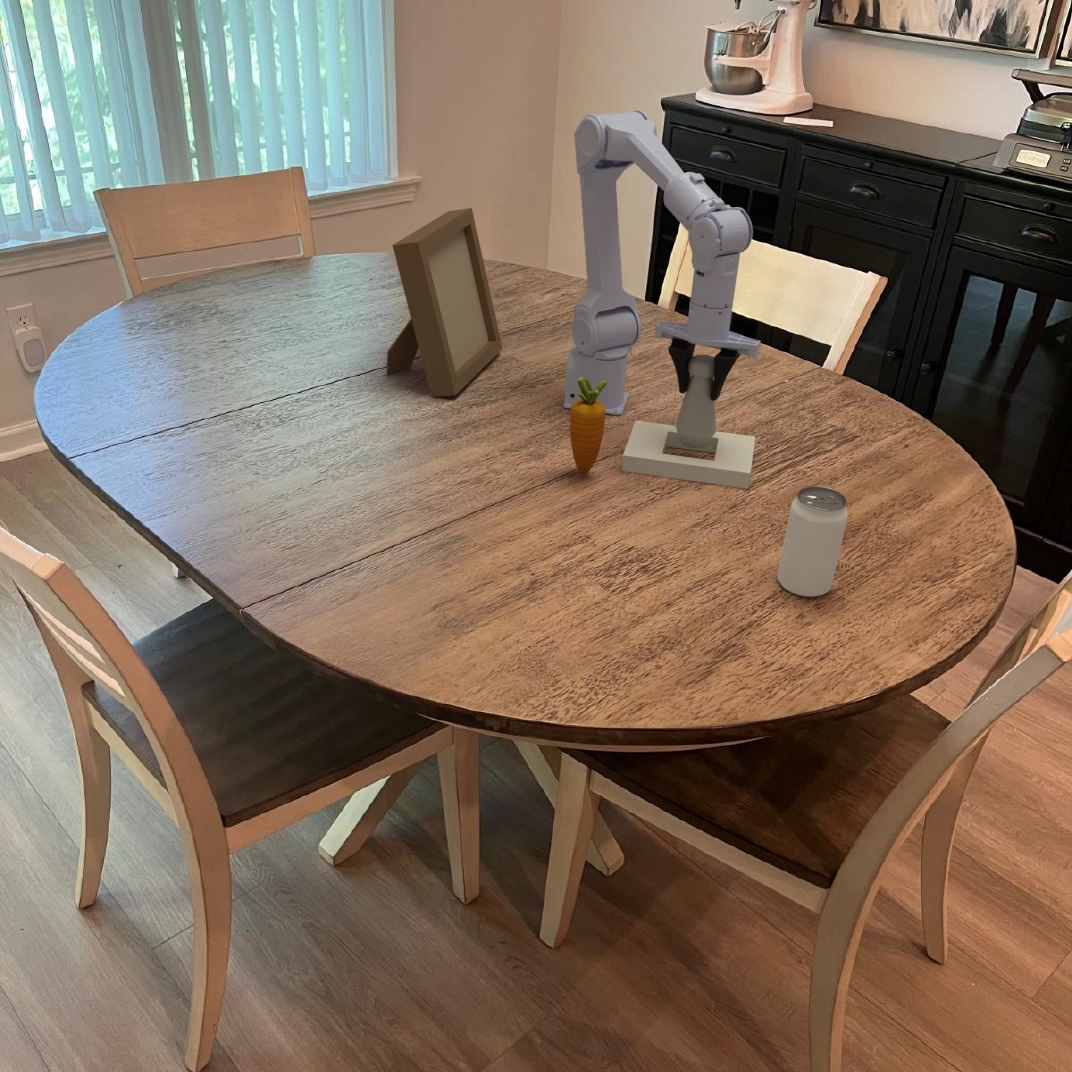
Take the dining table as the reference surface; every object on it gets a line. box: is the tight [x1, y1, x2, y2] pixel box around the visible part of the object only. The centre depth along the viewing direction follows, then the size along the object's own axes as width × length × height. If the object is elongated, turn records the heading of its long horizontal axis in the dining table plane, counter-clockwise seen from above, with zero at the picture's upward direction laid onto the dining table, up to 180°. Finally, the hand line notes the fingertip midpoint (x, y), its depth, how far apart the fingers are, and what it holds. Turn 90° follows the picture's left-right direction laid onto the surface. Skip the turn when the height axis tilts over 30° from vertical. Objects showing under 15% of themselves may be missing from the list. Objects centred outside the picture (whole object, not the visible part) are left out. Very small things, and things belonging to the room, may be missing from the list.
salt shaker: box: [675, 354, 717, 448], centre depth 147 cm, size 6×6×13 cm
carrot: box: [569, 377, 607, 477], centre depth 142 cm, size 5×5×15 cm
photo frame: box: [385, 207, 503, 398], centre depth 170 cm, size 15×22×25 cm
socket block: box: [621, 420, 756, 490], centre depth 151 cm, size 18×12×2 cm, turn 77°
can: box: [777, 485, 848, 598], centre depth 122 cm, size 6×6×12 cm
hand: (699, 394), depth 146 cm, fingers closed on salt shaker, 4 cm apart
